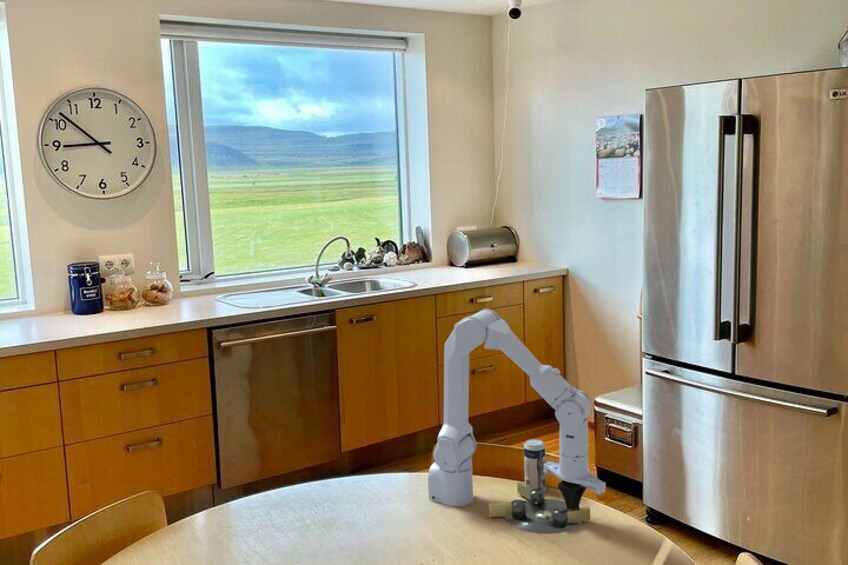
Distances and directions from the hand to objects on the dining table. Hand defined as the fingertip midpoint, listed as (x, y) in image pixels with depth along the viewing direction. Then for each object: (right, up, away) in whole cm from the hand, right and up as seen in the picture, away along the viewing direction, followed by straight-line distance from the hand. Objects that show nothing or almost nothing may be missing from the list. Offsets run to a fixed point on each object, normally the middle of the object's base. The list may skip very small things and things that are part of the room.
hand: (573, 515), depth 156 cm
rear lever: (-7, 0, +10) cm, 12 cm away
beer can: (-5, 0, +16) cm, 17 cm away
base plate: (-6, -2, +3) cm, 7 cm away
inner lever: (-13, -1, +2) cm, 13 cm away
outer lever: (-1, -1, -2) cm, 2 cm away
